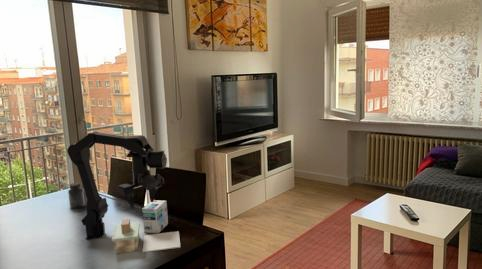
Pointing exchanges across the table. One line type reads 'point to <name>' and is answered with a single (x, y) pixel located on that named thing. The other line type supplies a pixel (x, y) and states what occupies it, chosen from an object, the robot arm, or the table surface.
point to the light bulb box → (155, 216)
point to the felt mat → (161, 241)
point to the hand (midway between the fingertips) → (142, 205)
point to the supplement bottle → (76, 196)
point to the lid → (126, 231)
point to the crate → (126, 245)
